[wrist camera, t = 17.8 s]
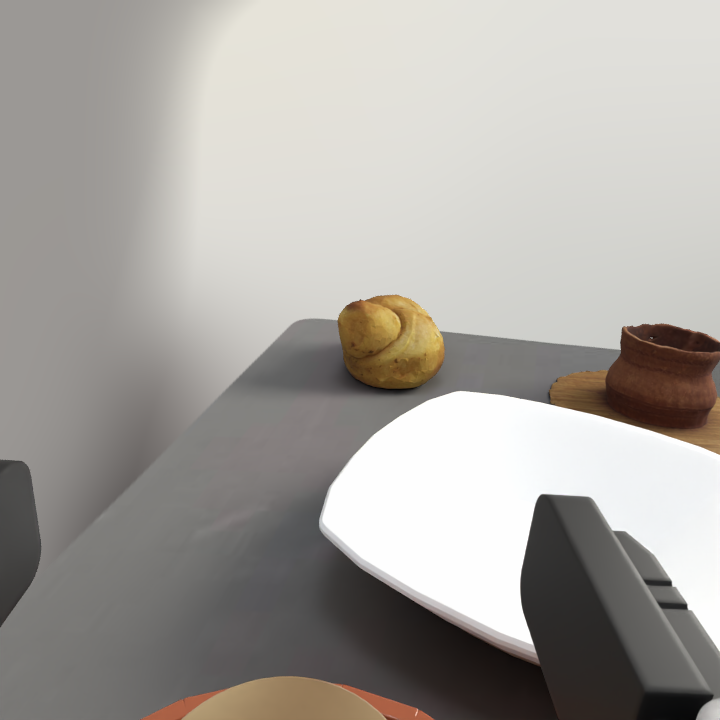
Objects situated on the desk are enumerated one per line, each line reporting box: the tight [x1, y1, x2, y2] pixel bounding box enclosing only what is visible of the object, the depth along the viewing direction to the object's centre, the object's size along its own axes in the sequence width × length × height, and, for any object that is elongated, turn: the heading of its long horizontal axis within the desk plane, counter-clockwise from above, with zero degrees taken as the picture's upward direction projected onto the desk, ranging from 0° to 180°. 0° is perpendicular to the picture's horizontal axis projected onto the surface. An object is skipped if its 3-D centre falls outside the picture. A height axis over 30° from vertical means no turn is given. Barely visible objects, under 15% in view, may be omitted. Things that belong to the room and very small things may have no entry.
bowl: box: [319, 391, 720, 667], centre depth 32 cm, size 22×22×5 cm
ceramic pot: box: [549, 324, 720, 455], centre depth 52 cm, size 18×18×7 cm
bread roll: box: [338, 295, 445, 389], centre depth 57 cm, size 13×10×8 cm
